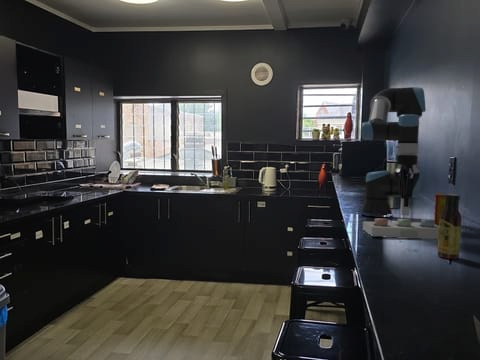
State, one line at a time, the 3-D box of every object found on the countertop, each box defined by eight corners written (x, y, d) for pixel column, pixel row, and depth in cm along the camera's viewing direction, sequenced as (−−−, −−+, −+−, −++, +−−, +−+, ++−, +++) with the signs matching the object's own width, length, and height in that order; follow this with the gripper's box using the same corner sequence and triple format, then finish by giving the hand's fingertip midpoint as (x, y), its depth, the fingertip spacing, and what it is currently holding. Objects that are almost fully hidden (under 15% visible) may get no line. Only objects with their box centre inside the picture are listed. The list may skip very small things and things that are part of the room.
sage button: (395, 225, 175) (396, 218, 175) (408, 226, 175) (408, 218, 174) (399, 228, 170) (400, 220, 170) (412, 228, 170) (413, 220, 169)
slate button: (418, 226, 175) (418, 219, 174) (431, 226, 174) (431, 219, 174) (423, 228, 170) (423, 221, 169) (436, 229, 169) (436, 221, 169)
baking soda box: (451, 233, 179) (453, 194, 178) (434, 232, 181) (436, 193, 180) (449, 230, 187) (451, 192, 186) (433, 229, 190) (434, 192, 189)
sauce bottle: (433, 255, 140) (436, 193, 139) (451, 255, 141) (455, 193, 139) (444, 260, 133) (447, 195, 132) (464, 260, 134) (467, 195, 133)
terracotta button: (372, 225, 175) (373, 217, 175) (385, 225, 175) (385, 218, 175) (376, 227, 170) (376, 219, 170) (389, 227, 170) (389, 220, 170)
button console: (362, 231, 181) (362, 221, 181) (431, 232, 180) (431, 223, 180) (371, 237, 167) (372, 227, 167) (446, 239, 166) (447, 229, 166)
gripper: (392, 154, 177) (389, 212, 178) (403, 154, 164) (400, 217, 165) (411, 154, 177) (408, 213, 178) (423, 154, 164) (420, 217, 165)
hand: (404, 214), depth 172 cm, fingers closed
